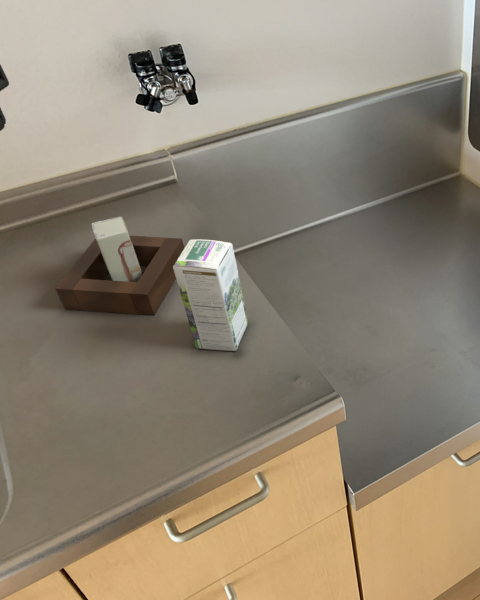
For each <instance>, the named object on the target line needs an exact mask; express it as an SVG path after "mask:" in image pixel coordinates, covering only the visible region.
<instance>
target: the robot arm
mask: <svg viewBox="0 0 480 600" xmlns="http://www.w3.org/2000/svg"><path fill="white" fill-rule="evenodd" d="M9 86H10V81H9V79H8V76H7V75H6V72H5V70H4V69H3V67H2V64H0V92H1V91H3V90H5V89H6V88H7V87H9ZM6 124H7V119H6V116H5V114H4V113H3V110H2V108H1V107H0V132H1V131H2V130H4V129H5V128H6V127H5V126H6Z"/></svg>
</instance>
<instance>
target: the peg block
mask: <svg viewBox="0 0 480 600" xmlns="http://www.w3.org/2000/svg"><path fill="white" fill-rule="evenodd" d="M129 236H130V239H131V242H132V245H133V248H134V251H135V253H136V256H137V259H138V262H139V265H140V267H141V266H142V267H146V268H145V270H144V271H143V272H142V274H143V275H142V276H141V278H140V279H139V281H138V282H125V281H112V280H106V277H107V275H109V271H108V269H107V266H106V263H105V261H104V258H103V256H102V253H101V251H100V248H99V246H98V243H97V240H96V238H95V237H94V239H93V241H92V242H91V243H90V244H89V246H88V247H87V248H86V250H84V252H83V253H82V254H81V255H80V257H79V258H78V259H77V260H76V262H75V263H74V264H73V266H72V267H71V268H70V269H69V270H68V272H67V273H66V274H65V275H64V277H63V278H62V279H61V280H60V282H58V284H57V286H55V287H54V289H55V292H56V293H57V295H58V298H59V300H60V302H61V304H62V306H63V308H64V310H67V311H68V310H70V311H84V312H85V311H86V312H99V313H100V312H101V313H114V314H127V315H128V314H129V315H130V314H131V315H146V316H155V315H156V313H157V312H158V310H159V309H160V307H161V305H162V303H163V302H164V300H165V298H166V297H167V295H168V293H169V292H170V290H171V288H172V286H173V285H174V283H175V281H176V276H175V273H174V269H173V266H174V264H175V263H176V261H177V260H178V258H179V256H180V255H181V253H182V252H183V250H184V248H185V245H184V244H185V243H184V241H183V238H179V237H163V236H161V237H160V236H146V235H145V236H144V235H129Z"/></svg>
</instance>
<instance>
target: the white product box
mask: <svg viewBox="0 0 480 600" xmlns="http://www.w3.org/2000/svg"><path fill="white" fill-rule="evenodd" d="M91 227H92V232H93V235H94V239H95V238H96V240H97V243H98V246H99V248H100V251H101V253H102V256H103V258H104V261H105V263H106V266H107V269H108V271H109V273H108V275H109V277H110V280H111V281H125V282H138V281H139V279H140V278H141V276H142V275H143V271H142V269H141V266H140V265H139V262H138V259H137V256H136V253H135V251H134V248H133V245H132V242H131V239H130V236H131V235H130V233H129V231H128V227H127V224H126V222H125V220H124V218H123V216H117V217H112V218H108V219H105V220H100V221H95V222H92V223H91Z"/></svg>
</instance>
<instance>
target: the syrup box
mask: <svg viewBox="0 0 480 600" xmlns="http://www.w3.org/2000/svg"><path fill="white" fill-rule="evenodd" d="M173 269H174V273H175V276H176V279H175V281H176V282H177V287H178V289H179V293H180V297H181V301H182V304H183V308H184V311H185V314H186V318H187V321H188V324H189V327H190V332H191V335H192V339H193V341H194V345H195V348H196V349H198V350H199V349H201V350H214V351H226V352H227V351H228V352H237V351H238V349H239V346H240V344H241V341H242V339H243V336H244V334H245V332H246V330H247V327H248V324H249V320H248V314H247V310H246V304H245V300H244V296H243V290H242V285H241V279H240V276H239V275H240V274H239V270H238V266H237V261H236V256H235V251H234V246H233V243H232V242H227V241H222V240H214V239H199V238H197V239H196V238H195V239H189V240H188V242H187V244H186V245H185V246H184V250H183V252H182V253H181V255H180V256H179V258H178V260H177V261H176V263H175V264H174V266H173Z"/></svg>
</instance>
